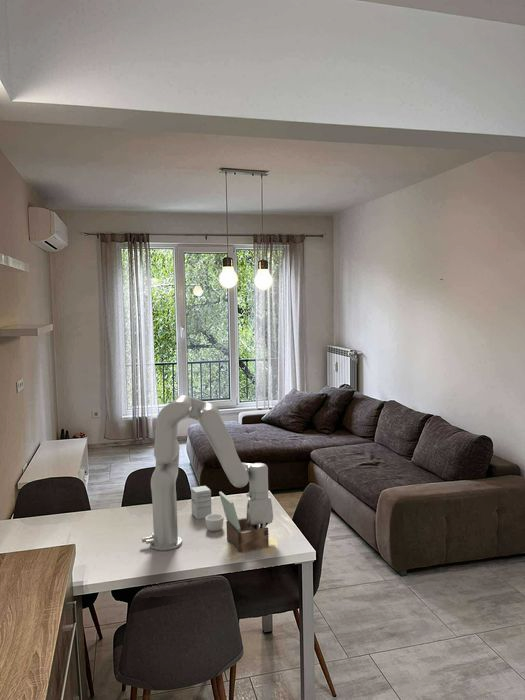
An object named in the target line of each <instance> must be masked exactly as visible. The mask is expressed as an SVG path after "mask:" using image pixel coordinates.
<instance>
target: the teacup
mask: <svg viewBox="0 0 525 700" xmlns="http://www.w3.org/2000/svg"><path fill="white" fill-rule="evenodd" d="M204 520H205V521H204V522H205V526H206V529H207V530H209V531H210V532H219V531H220V530H221V529H222V528H223V527H224V521H225V520H224V515H223V514H220V513H211V514H210V515H208V516H206V518H204Z"/></svg>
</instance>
